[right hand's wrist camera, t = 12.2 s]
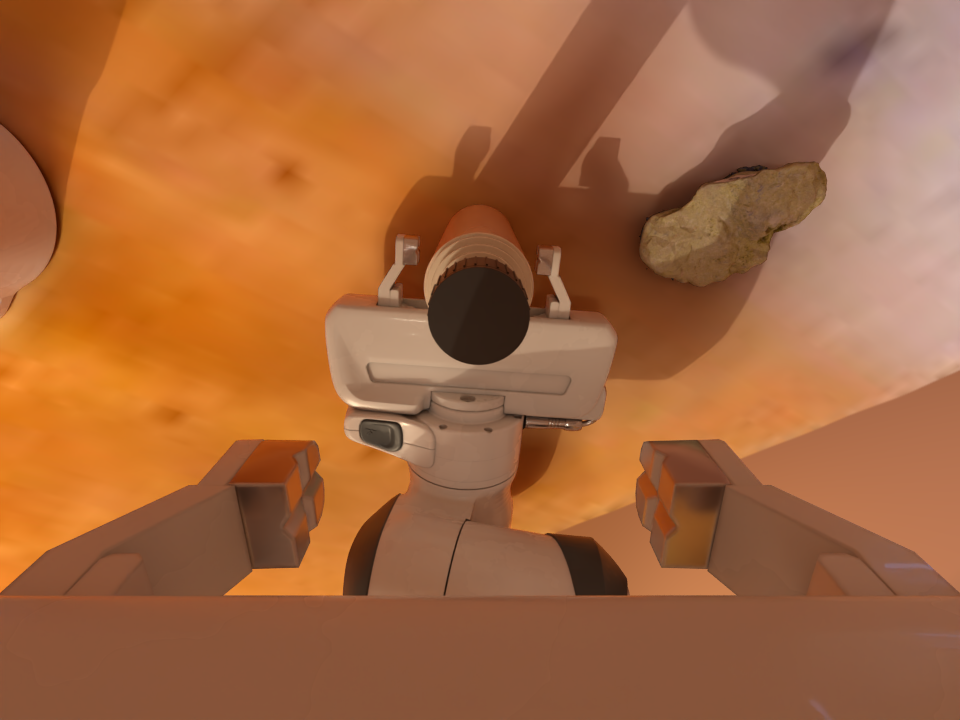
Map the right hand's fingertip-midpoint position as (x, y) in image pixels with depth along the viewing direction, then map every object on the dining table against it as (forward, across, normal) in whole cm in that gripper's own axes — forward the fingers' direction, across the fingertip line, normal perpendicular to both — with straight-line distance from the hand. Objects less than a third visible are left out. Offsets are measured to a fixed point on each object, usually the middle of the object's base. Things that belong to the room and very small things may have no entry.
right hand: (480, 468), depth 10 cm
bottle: (+31, 0, 0) cm, 31 cm away
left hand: (+26, 0, -1) cm, 26 cm away
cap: (+11, 0, 0) cm, 11 cm away
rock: (+31, -18, -2) cm, 36 cm away
